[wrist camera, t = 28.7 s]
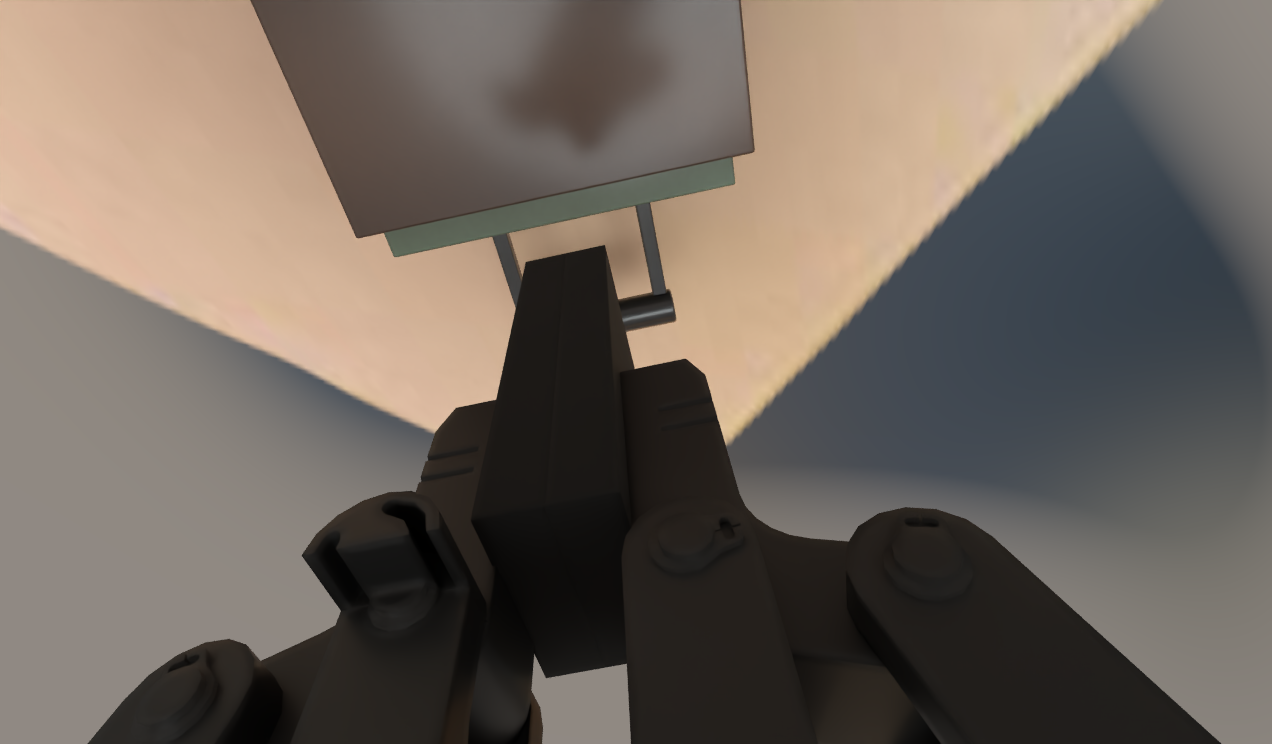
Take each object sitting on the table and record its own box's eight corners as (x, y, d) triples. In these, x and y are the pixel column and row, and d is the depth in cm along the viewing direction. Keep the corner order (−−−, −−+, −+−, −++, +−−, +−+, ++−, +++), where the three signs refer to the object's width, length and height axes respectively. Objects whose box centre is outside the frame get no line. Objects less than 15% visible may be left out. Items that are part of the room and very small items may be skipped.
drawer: (714, 262, 34) (753, 342, 26) (483, 310, 34) (454, 403, 27) (639, -288, 23) (667, -426, 15) (298, -204, 23) (160, -296, 16)
